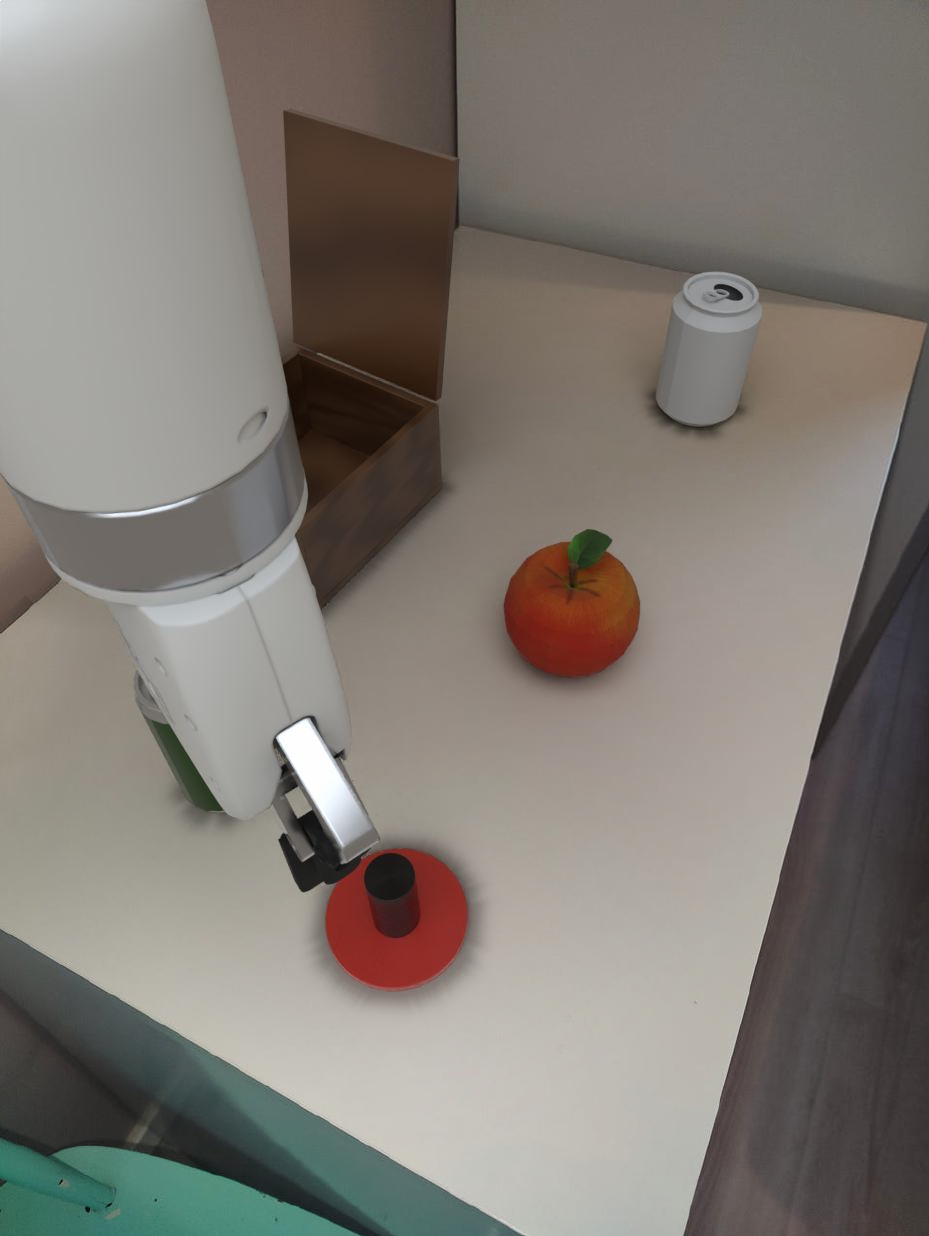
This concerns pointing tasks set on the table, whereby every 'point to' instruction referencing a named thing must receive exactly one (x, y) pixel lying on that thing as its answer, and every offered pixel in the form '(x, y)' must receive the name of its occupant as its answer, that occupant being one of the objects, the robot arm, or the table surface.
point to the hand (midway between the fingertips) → (275, 778)
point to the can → (708, 348)
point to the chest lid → (370, 249)
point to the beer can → (174, 751)
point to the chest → (357, 464)
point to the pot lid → (397, 920)
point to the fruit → (572, 607)
